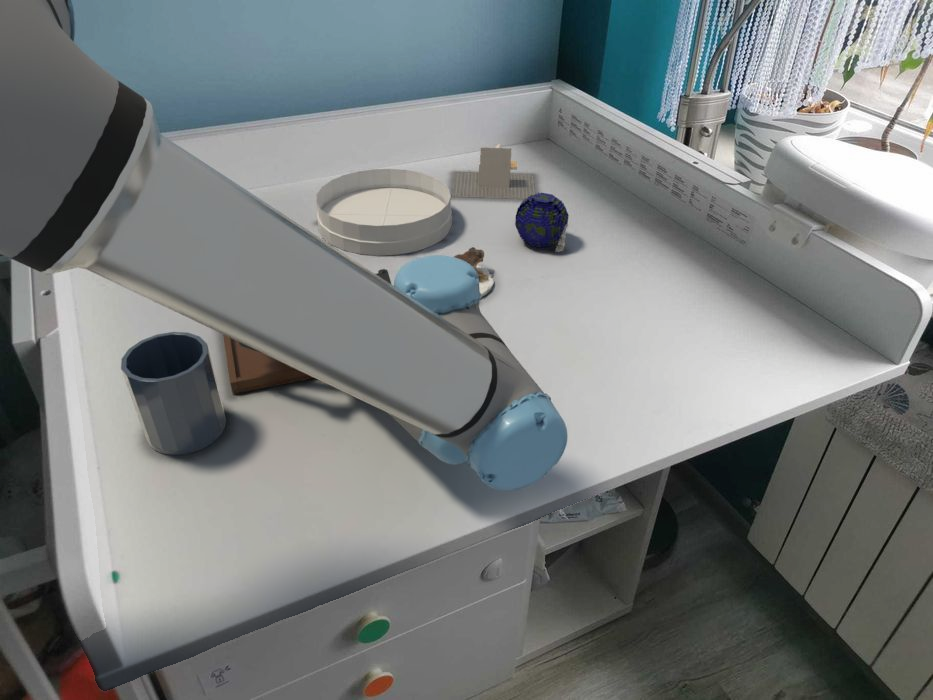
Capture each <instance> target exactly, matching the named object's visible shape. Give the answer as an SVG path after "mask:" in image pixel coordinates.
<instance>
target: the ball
mask: <svg viewBox="0 0 933 700" xmlns="http://www.w3.org/2000/svg"><path fill="white" fill-rule="evenodd" d="M522 200H523V201H521V202H520V204H519V206H518V207H517V210H516V214H515V219H514V221H515V223H514V226H515V228H516V230H517V233H518V235H519V238H521V240H523V241H524V242H525V243H527V244H528V245H530V246H531V247H538V248H546V247H549V246H553V245H554V244H556V243H557V244H556V247H555V250H554V252H557V253H560V252H564V248H565V246H566V238H567V233H566V232H567V229H568V227H569V224H568V222H569V216H570V215H569V212H568V209H567V207H566V205H565V202H563V200H560V198H559V197H556V195H554V194H552V193H546V192H540V193H539V192H538V193H535V195H530V197H528V198H527V199H522Z"/></svg>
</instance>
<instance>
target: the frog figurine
mask: <svg viewBox="0 0 933 700" xmlns="http://www.w3.org/2000/svg"><path fill="white" fill-rule="evenodd" d="M453 257H455V258H458V259H461V260H463V261H465V262H467V263H469V264H470V265H471V266H472V267H473V268H474V269H475V270H476V272H477V274H478V277H479V290H480V293H481V298H483V297H484V296H487V294H489V293H490V292H491V291H492V288H493V285H494V281H495V280H494V278H492V277H493V275H492V274H491V273H490V270H488V269H487V268H486V267H484V266H481V265H480V264H479V263H483V261H484V257H485V251H484V250H483V249H477V248H476V247H474V246H473V247H470V248H468V250H467V251H465V252H464V253H462V254H460V253H459V254H455V255H454V256H453Z"/></svg>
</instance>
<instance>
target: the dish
mask: <svg viewBox="0 0 933 700" xmlns="http://www.w3.org/2000/svg"><path fill="white" fill-rule="evenodd" d="M315 201H316V209H317V210H316V211H317V213H316V222H317V228H318V229H317V230H318V232H319V234H320V235H321V237H322V238H321V239H323V240H324V241H325V242H327V243H328V244H330V245H332V246H333V247H335V248H337V249H340V250H343V251H345V252H348V253H353V254H354V253H355V254H358V255H366V256H377V257H381V256H384V257H385V256H398V255H399V256H400V255H404V254H411V253H415V252H419V251H421V250H424V249H427V248H431V247H432V246H433V245H436V244H437V243H439V242H441V241H442V240H443V239H444V238H445V237H446V236H447V235H448V234H449V233H450V231H451V228H452V225H453V211H452V207H451V204H452V203H451V202H452V194H451V192H450V189H449V187H448V186H447V185H446V184H445V183H444V182H443V181H441V180H439V179H438V178H436V177H434V176H431V175H428V174H425V173H423V172H420V171H419V172H418V171H413V170H407V169H398V168H397V169H396V168H378V169H377V168H375V169H374V168H373V169H367V170H361V171H360V170H359V171H355V172H350V173H348V174H343V175H340V176H338V177H336V178H333V179H332V180H329V181H328V182H327V183H325V184H324V185H322V186H321V187H320V189H319V190H318V192H317V193H316V200H315Z"/></svg>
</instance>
